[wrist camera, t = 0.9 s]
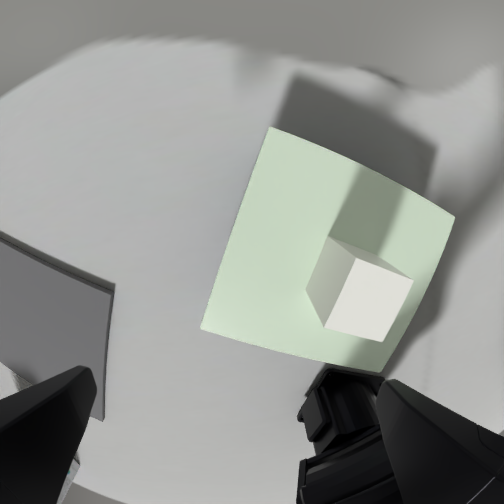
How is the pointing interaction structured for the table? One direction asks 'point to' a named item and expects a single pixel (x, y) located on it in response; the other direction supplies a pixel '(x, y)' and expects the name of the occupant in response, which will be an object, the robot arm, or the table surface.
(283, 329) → the lid
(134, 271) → the table surface
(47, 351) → the rubber mat
